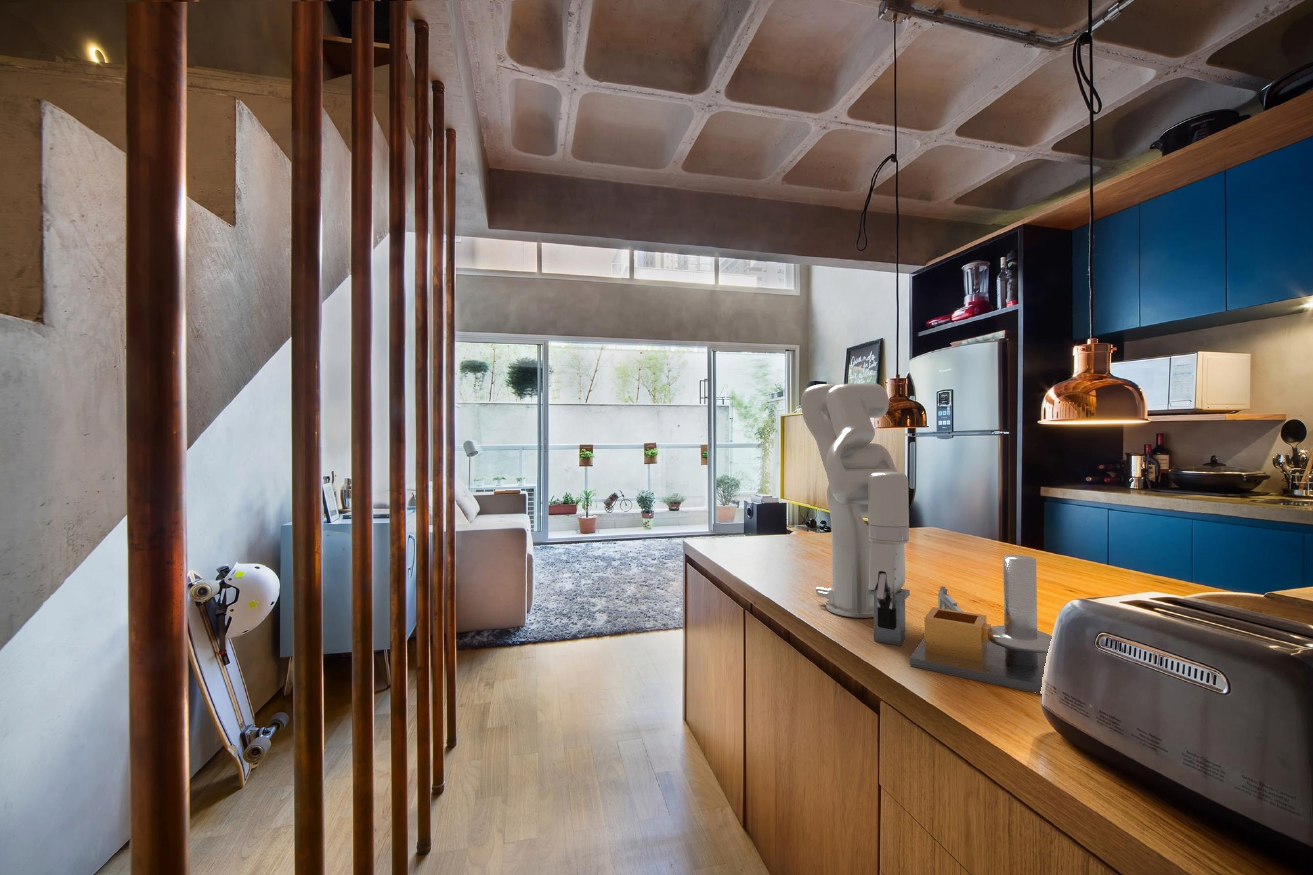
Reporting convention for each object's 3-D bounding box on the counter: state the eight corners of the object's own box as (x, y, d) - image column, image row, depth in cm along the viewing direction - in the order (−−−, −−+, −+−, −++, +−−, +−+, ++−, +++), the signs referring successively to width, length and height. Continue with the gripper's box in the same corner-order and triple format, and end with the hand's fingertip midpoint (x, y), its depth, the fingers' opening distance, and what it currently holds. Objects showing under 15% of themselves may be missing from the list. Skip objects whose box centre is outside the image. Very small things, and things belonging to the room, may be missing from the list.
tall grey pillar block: (869, 639, 110) (868, 589, 110) (874, 634, 113) (874, 584, 113) (905, 647, 106) (905, 594, 106) (910, 641, 109) (909, 589, 109)
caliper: (937, 611, 129) (937, 584, 129) (942, 611, 129) (942, 584, 129) (983, 643, 109) (983, 611, 109) (989, 643, 109) (989, 611, 109)
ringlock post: (910, 666, 97) (908, 556, 97) (929, 636, 112) (928, 540, 112) (1056, 697, 85) (1054, 571, 85) (1057, 660, 99) (1055, 552, 99)
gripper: (880, 526, 119) (881, 610, 119) (856, 537, 105) (858, 633, 105) (917, 529, 114) (918, 617, 114) (898, 541, 101) (899, 641, 101)
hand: (889, 623), depth 110 cm, fingers closed on tall grey pillar block, 4 cm apart
